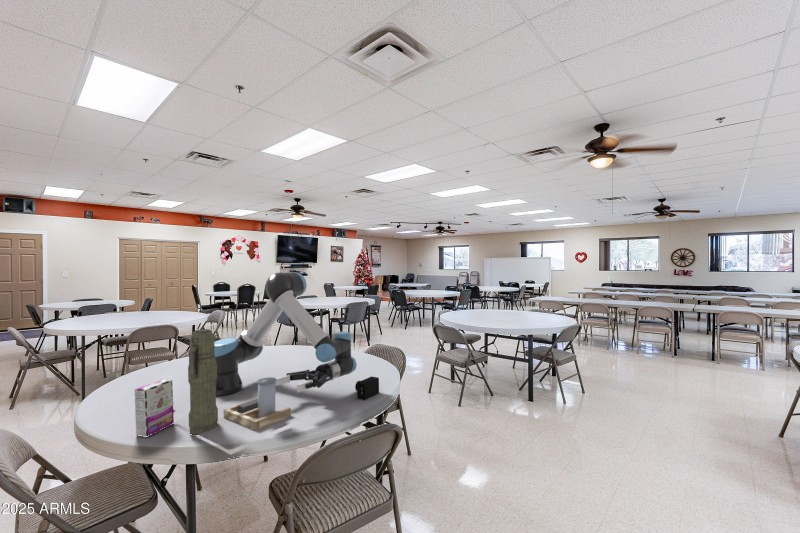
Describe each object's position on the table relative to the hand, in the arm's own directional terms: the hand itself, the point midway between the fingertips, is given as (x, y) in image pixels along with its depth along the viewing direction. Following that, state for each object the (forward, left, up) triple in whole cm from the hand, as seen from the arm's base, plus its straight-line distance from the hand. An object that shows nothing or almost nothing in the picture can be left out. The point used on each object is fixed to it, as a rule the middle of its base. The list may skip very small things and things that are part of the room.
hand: (286, 385), depth 138 cm
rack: (-5, -10, -11) cm, 15 cm away
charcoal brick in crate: (-9, -9, -10) cm, 16 cm away
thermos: (-13, -25, -11) cm, 30 cm away
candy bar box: (-28, -35, -11) cm, 46 cm away
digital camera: (+14, +32, -11) cm, 36 cm away
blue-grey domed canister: (0, -9, -10) cm, 13 cm away
